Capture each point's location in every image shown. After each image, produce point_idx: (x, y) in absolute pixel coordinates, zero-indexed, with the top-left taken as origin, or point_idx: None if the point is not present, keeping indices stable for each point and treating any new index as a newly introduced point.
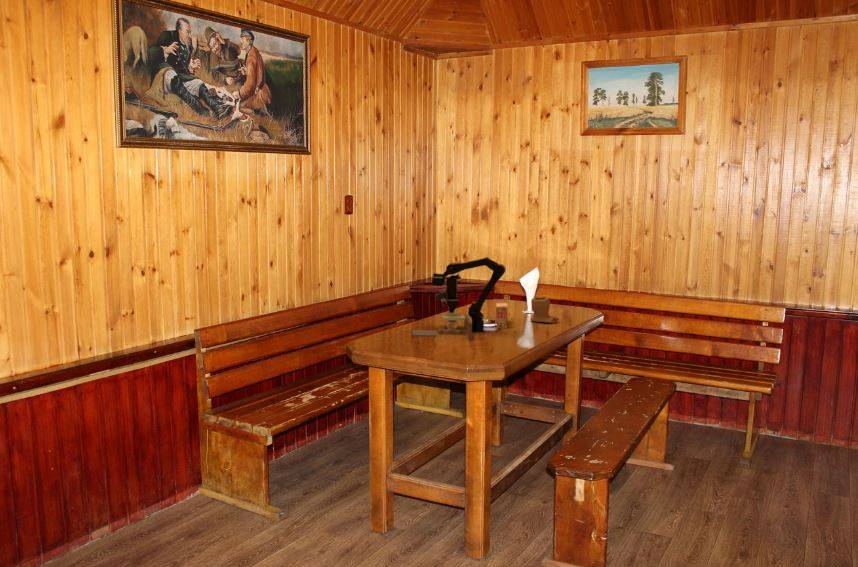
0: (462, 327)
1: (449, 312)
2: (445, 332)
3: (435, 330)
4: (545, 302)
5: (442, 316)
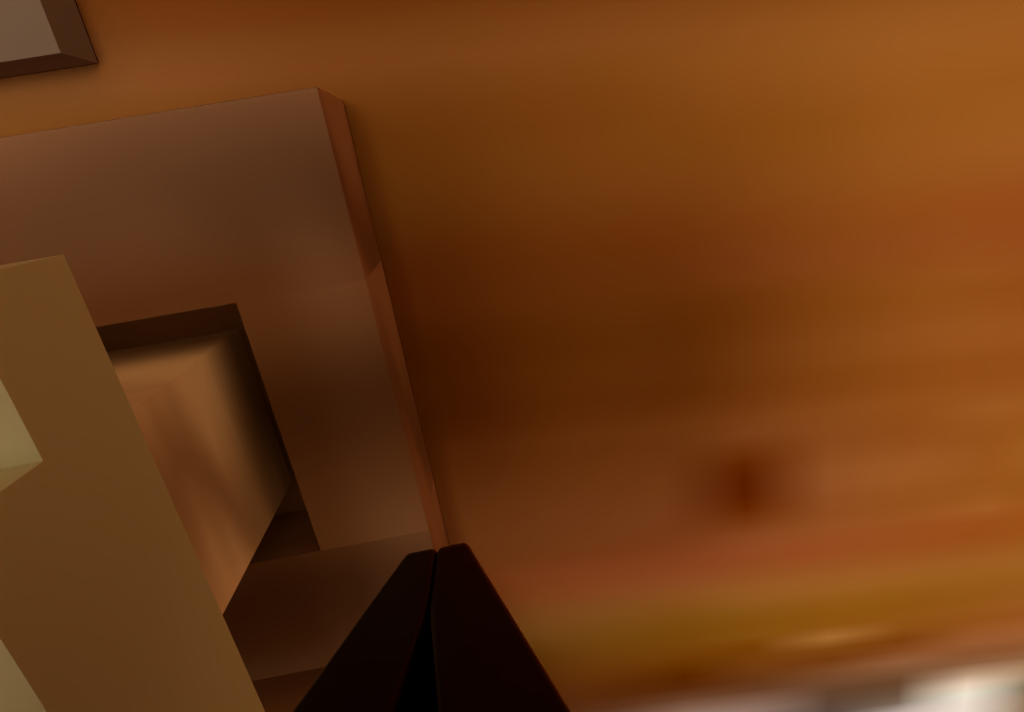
0: (330, 632)
1: (491, 603)
2: None
3: (40, 52)
4: None
5: None
